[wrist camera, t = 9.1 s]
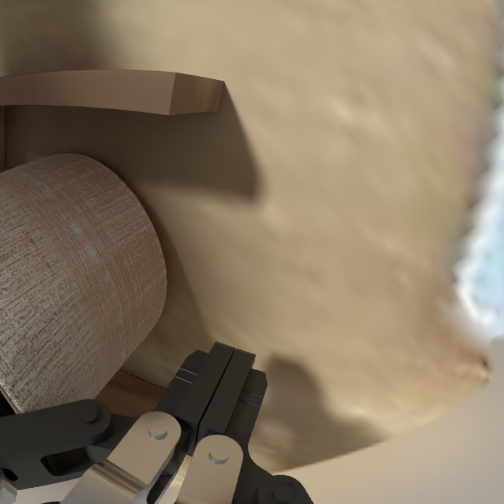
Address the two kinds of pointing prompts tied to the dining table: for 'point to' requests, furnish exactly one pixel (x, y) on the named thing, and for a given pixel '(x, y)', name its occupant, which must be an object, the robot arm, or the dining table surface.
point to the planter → (72, 280)
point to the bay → (123, 98)
